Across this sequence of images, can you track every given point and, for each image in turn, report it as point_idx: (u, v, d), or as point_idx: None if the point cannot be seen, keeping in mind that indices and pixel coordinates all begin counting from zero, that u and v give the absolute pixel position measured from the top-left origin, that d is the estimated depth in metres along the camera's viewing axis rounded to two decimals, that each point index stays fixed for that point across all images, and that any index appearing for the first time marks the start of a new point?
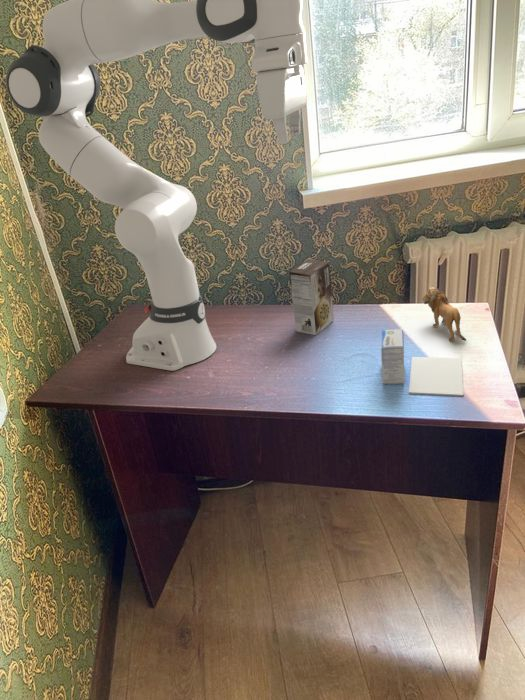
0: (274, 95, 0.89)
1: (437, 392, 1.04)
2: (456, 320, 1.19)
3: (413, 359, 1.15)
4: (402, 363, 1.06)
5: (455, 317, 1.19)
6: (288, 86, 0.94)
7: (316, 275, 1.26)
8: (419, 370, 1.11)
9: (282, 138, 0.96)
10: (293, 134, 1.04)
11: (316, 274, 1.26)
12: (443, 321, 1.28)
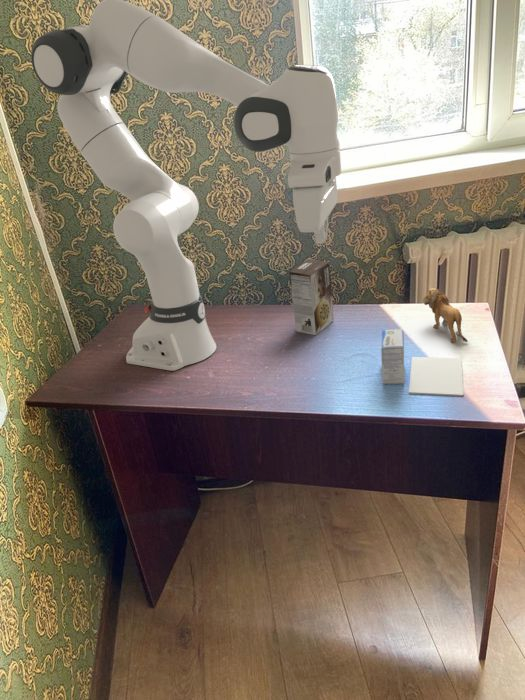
0: (310, 212, 0.90)
1: (437, 392, 1.04)
2: (457, 321, 1.18)
3: (413, 359, 1.15)
4: (402, 363, 1.06)
5: (456, 318, 1.18)
6: (322, 197, 0.95)
7: (316, 275, 1.26)
8: (419, 370, 1.11)
9: (320, 238, 1.01)
10: None
11: (316, 274, 1.26)
12: (444, 322, 1.28)
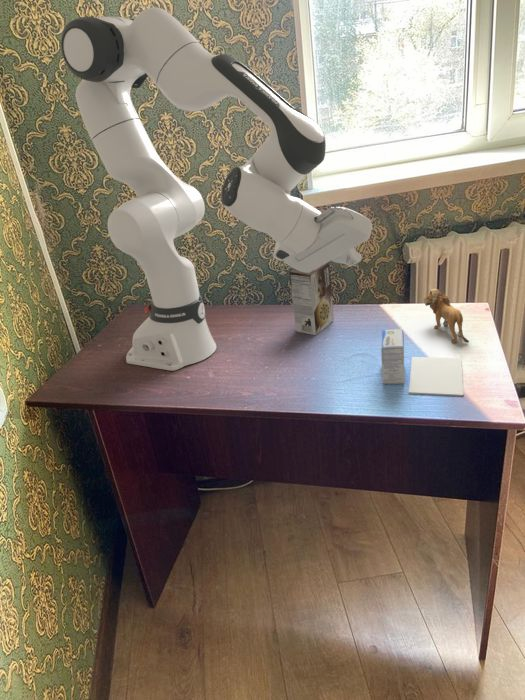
0: None
1: (437, 392, 1.04)
2: (459, 322, 1.18)
3: (413, 359, 1.15)
4: (402, 363, 1.06)
5: (458, 319, 1.18)
6: (308, 252, 1.05)
7: (316, 275, 1.26)
8: (419, 370, 1.11)
9: None
10: None
11: (316, 274, 1.26)
12: (445, 323, 1.27)
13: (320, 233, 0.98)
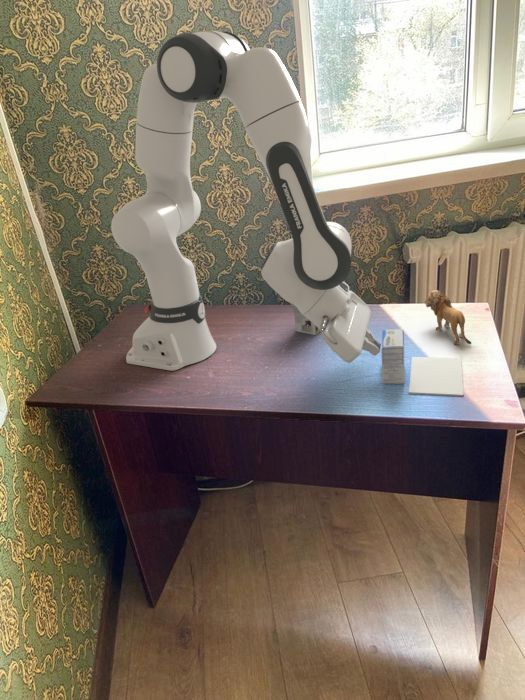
0: None
1: (437, 392, 1.04)
2: (461, 323, 1.17)
3: (413, 359, 1.15)
4: (402, 363, 1.06)
5: (460, 320, 1.17)
6: None
7: None
8: (419, 370, 1.11)
9: None
10: None
11: None
12: (446, 324, 1.27)
13: None
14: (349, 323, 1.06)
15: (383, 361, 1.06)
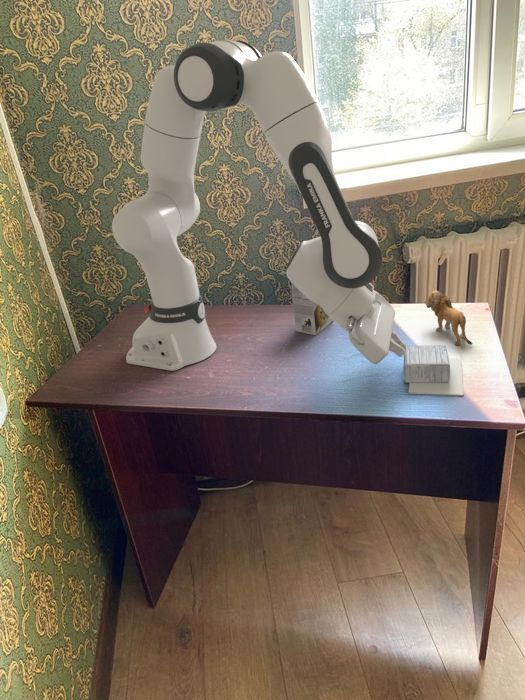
0: None
1: (437, 392, 1.04)
2: (462, 324, 1.17)
3: None
4: (429, 381, 1.06)
5: (461, 321, 1.17)
6: None
7: None
8: None
9: None
10: None
11: None
12: (446, 325, 1.26)
13: None
14: (375, 324, 1.05)
15: (432, 365, 1.05)
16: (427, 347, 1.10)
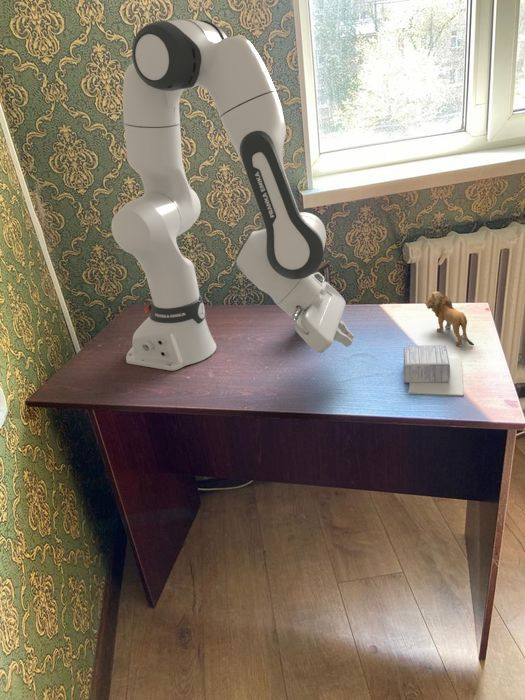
0: None
1: (437, 392, 1.04)
2: (463, 325, 1.17)
3: None
4: (429, 381, 1.06)
5: (462, 322, 1.17)
6: None
7: None
8: None
9: None
10: None
11: None
12: (447, 326, 1.26)
13: None
14: (322, 314, 1.07)
15: (432, 365, 1.05)
16: (427, 347, 1.10)
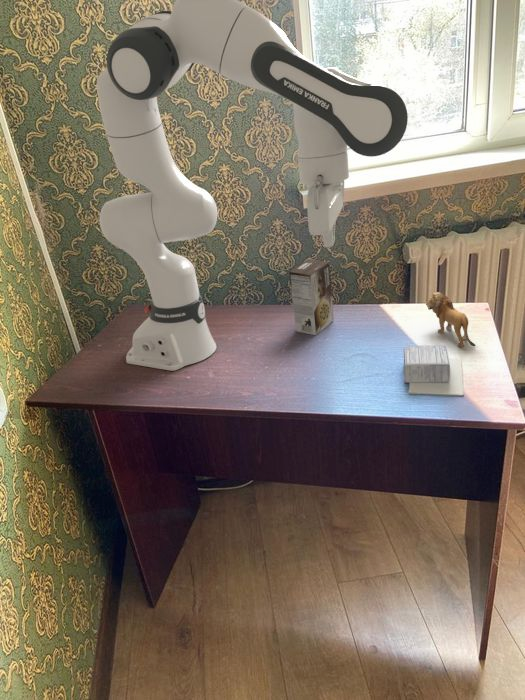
0: None
1: (437, 392, 1.04)
2: (465, 325, 1.16)
3: None
4: (429, 381, 1.06)
5: (464, 322, 1.16)
6: None
7: (316, 275, 1.26)
8: None
9: None
10: None
11: (316, 274, 1.26)
12: (448, 326, 1.26)
13: None
14: (332, 200, 0.96)
15: (432, 365, 1.05)
16: (427, 347, 1.10)
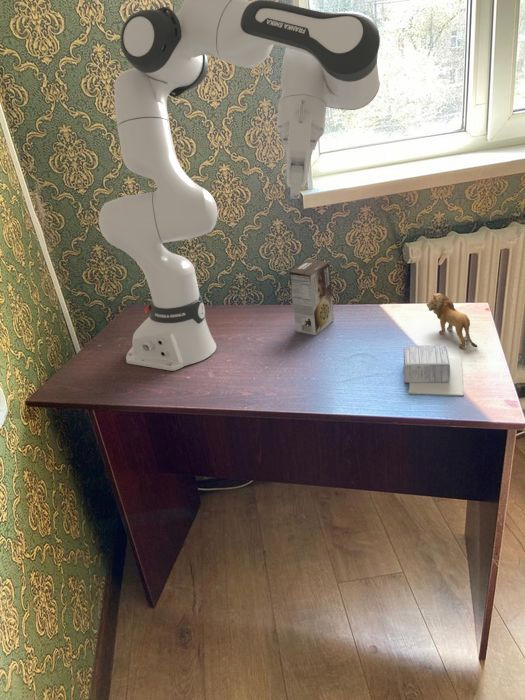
0: None
1: (437, 392, 1.04)
2: (467, 326, 1.16)
3: None
4: (429, 381, 1.06)
5: (465, 323, 1.16)
6: None
7: (316, 275, 1.26)
8: None
9: None
10: None
11: (316, 274, 1.26)
12: (449, 327, 1.25)
13: None
14: None
15: (432, 365, 1.05)
16: (427, 347, 1.10)
